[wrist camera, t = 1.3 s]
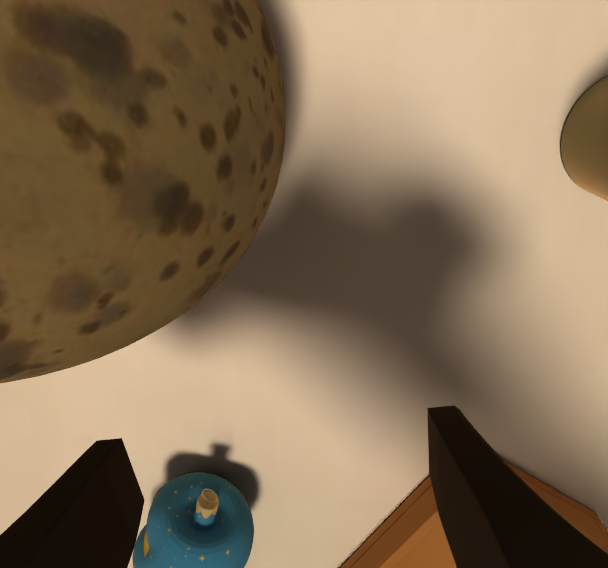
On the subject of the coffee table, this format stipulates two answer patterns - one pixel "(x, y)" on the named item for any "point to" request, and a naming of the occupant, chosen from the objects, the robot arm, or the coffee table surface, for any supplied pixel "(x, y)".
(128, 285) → the decorative egg
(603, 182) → the green bottle
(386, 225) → the coffee table surface
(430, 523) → the tray
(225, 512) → the ornament
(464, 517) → the robot arm
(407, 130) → the coffee table surface
